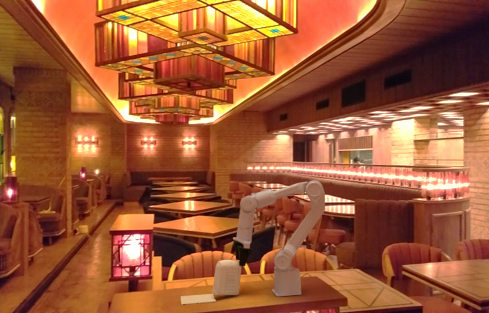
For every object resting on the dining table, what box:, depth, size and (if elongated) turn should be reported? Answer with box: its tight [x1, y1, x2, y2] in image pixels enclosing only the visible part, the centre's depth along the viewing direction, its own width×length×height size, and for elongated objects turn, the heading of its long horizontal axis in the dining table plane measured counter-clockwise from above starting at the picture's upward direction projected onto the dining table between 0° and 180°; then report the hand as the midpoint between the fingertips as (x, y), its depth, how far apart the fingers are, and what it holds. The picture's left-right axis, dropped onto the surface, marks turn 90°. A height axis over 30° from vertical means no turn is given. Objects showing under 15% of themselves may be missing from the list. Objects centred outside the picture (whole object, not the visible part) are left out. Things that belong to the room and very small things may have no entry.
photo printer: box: [212, 259, 243, 296], centre depth 151 cm, size 10×4×12 cm, turn 124°
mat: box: [179, 293, 217, 306], centre depth 148 cm, size 12×9×1 cm
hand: (240, 262), depth 156 cm, fingers open, 7 cm apart
